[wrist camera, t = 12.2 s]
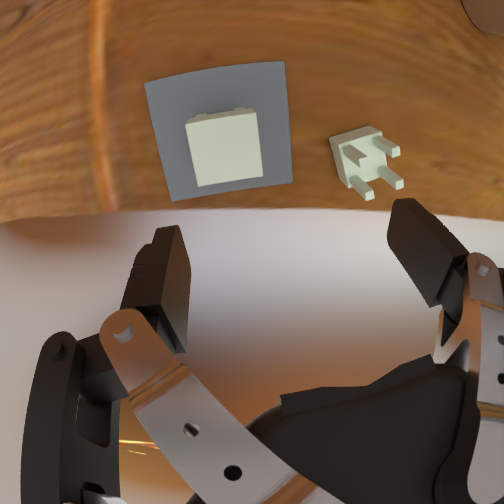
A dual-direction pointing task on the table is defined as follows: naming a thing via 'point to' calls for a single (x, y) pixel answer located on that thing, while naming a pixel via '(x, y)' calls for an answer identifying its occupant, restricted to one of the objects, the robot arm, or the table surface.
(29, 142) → the table surface
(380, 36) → the table surface
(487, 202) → the table surface
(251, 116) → the cube with twin tabs
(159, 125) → the mat
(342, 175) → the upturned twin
